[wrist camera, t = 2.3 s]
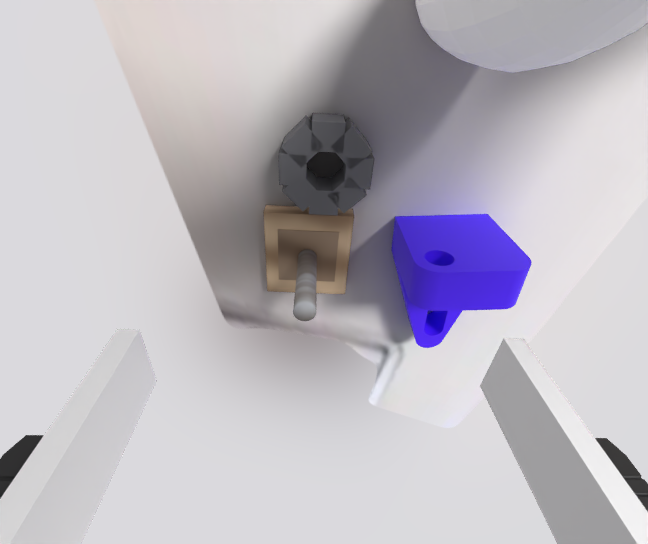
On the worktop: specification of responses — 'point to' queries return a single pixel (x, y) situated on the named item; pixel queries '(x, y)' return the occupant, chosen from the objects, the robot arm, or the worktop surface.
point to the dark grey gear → (325, 191)
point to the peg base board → (306, 254)
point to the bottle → (528, 29)
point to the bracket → (454, 270)
